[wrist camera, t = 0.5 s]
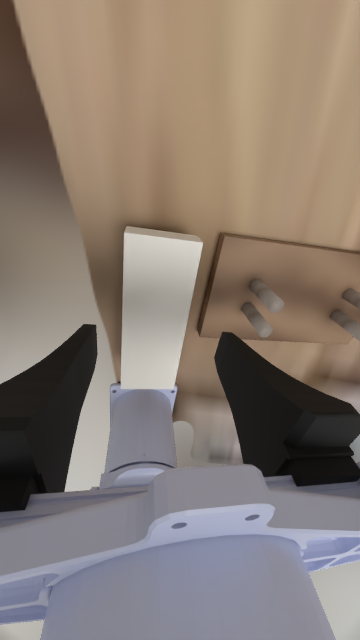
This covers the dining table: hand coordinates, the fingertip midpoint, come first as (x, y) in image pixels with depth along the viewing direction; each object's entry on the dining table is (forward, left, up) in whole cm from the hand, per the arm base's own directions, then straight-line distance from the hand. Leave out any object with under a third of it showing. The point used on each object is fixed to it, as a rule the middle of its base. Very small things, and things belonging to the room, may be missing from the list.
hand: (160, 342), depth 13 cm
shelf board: (-2, 0, -6) cm, 7 cm away
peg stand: (0, -14, -9) cm, 17 cm away
